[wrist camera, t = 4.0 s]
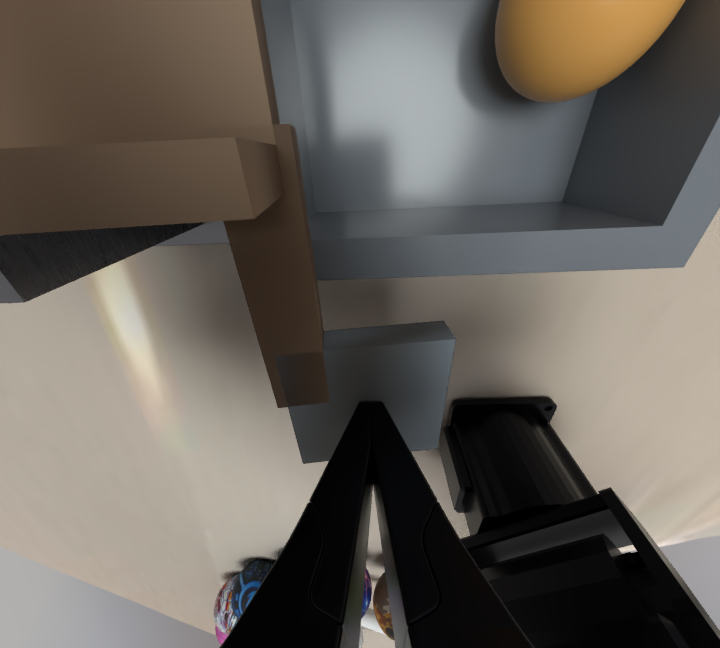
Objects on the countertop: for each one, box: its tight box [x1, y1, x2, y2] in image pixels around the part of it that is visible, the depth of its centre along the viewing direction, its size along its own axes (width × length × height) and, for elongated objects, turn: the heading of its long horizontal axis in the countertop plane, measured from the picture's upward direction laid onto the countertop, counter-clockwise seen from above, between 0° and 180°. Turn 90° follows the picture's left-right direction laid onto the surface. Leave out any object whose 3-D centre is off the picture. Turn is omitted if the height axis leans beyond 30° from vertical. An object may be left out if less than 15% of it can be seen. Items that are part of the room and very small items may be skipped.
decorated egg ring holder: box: [214, 560, 395, 648], centre depth 37 cm, size 35×35×9 cm
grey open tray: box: [260, 0, 720, 280], centre depth 7 cm, size 12×12×5 cm
